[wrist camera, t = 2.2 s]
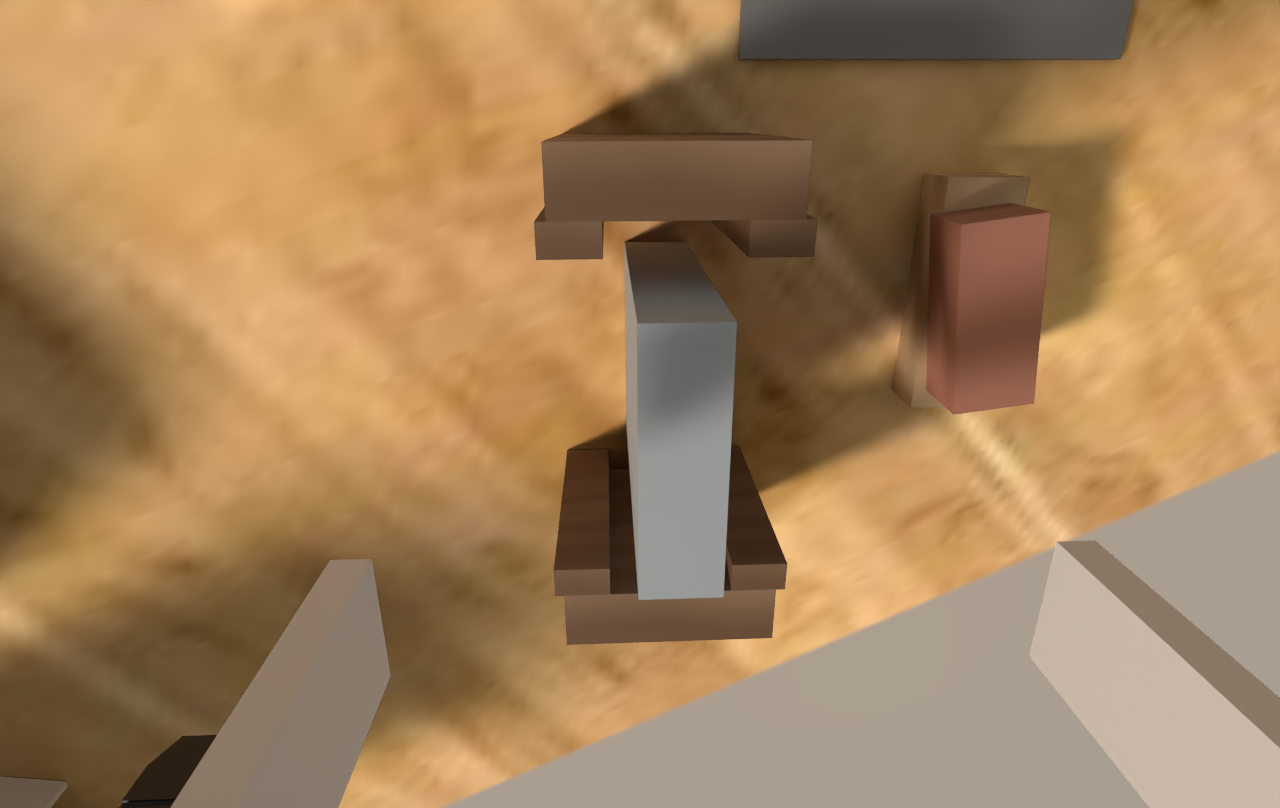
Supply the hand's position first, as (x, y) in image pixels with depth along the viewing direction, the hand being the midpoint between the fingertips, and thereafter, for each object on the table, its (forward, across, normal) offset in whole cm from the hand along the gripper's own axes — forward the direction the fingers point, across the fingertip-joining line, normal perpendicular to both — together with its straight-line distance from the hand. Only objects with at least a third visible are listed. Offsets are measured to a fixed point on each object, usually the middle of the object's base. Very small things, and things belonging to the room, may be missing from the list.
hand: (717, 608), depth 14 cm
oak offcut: (+18, +12, +2) cm, 21 cm away
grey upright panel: (+17, 0, 0) cm, 17 cm away
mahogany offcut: (+15, +12, +2) cm, 19 cm away
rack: (+17, 0, 0) cm, 17 cm away
